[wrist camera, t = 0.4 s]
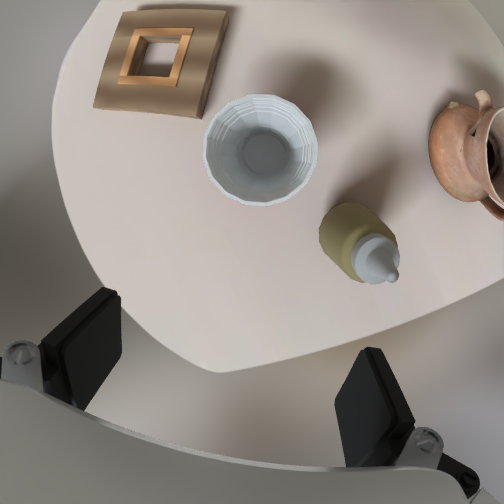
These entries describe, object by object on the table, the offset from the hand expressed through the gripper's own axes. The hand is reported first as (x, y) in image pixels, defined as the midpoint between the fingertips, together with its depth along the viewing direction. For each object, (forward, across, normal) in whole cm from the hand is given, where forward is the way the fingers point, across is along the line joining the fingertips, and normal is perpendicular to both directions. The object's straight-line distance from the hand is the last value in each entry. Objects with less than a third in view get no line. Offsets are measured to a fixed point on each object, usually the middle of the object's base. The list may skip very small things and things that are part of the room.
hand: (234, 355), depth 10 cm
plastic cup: (+30, +2, -8) cm, 31 cm away
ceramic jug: (+30, -28, -17) cm, 44 cm away
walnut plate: (+30, +18, -19) cm, 40 cm away
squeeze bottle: (+30, -11, -1) cm, 32 cm away
